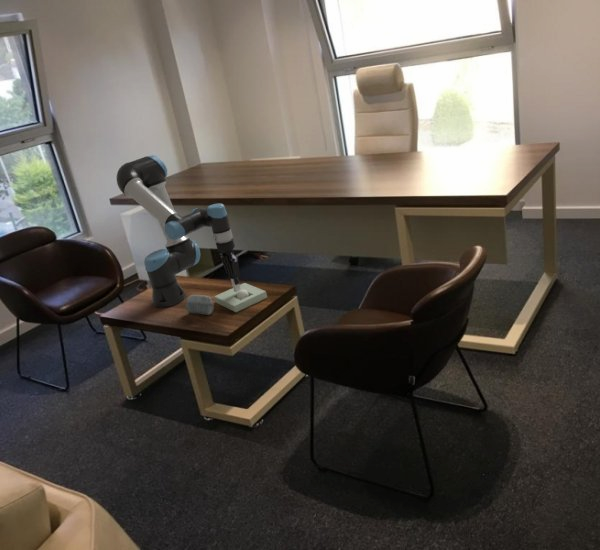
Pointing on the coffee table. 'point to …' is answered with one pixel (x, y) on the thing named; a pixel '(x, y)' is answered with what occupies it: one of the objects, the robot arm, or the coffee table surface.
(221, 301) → the green board
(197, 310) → the grey streaked egg
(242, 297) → the ball
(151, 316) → the coffee table surface
